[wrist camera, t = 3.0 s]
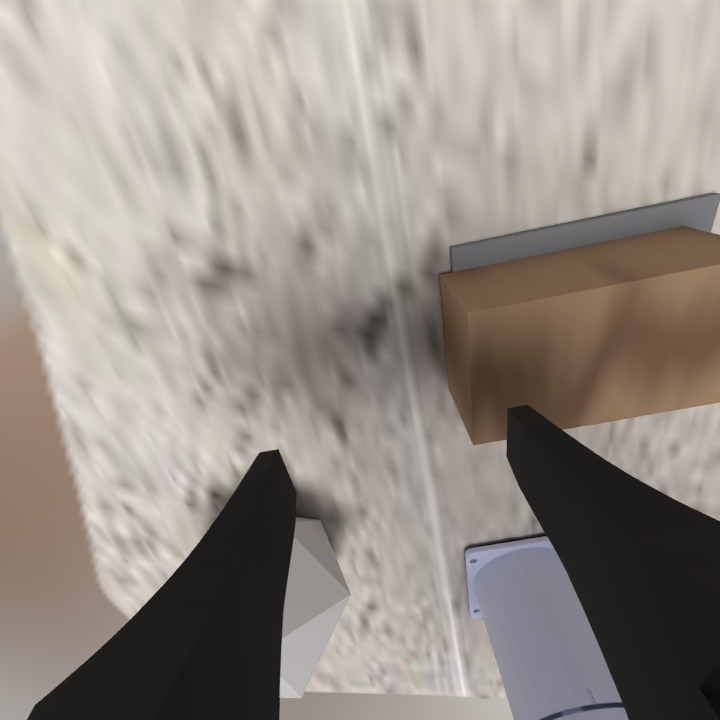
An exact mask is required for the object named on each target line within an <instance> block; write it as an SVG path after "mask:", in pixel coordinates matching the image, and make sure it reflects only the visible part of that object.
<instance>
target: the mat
mask: <svg viewBox="0 0 720 720" xmlns="http://www.w3.org/2000/svg"><path fill="white" fill-rule="evenodd" d="M719 201H720V194H719V193H712V194H707V195H702V196H697V197H692V198H687V199H683V200H678V201H673V202H668V203H663V204H658V205H653V206H648V207H643V208H638V209H633V210H628V211H623V212H618V213H614V214H609V215H604V216H599V217H594V218H589V219H584V220H579V221H574V222H569V223H564V224H559V225H554V226H550V227H545V228H540V229H535V230H530V231H525V232H520V233H515V234H510V235H505V236H500V237H495V238H490V239H485V240H481V241H476V242H471V243H466V244H461V245H456V246H451V247H450V256H451V271H452V272H456V271H461V270H466V269H471V268H476V267H481V266H486V265H491V264H496V263H501V262H506V261H511V260H516V259H521V258H526V257H531V256H536V255H541V254H546V253H551V252H556V251H561V250H566V249H571V248H576V247H581V246H586V245H591V244H596V243H601V242H606V241H611V240H616V239H621V238H626V237H631V236H636V235H641V234H646V233H651V232H656V231H661V230H666V229H671V228H676V227H681V226H686V227H690V228H694V229H698V230H702V231H706V232H709V233H711V229H712V226H713V222H714V219H715V215H716V212H717V208H718V205H719Z"/></svg>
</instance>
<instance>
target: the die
mask: <svg viewBox="0 0 720 720" xmlns="http://www.w3.org/2000/svg"><path fill="white" fill-rule="evenodd" d="M350 595H351V594H350V591H349V589H348V586H347V584H346V582H345V579H344V577H343V574H342V572H341V569H340V567H339V564H338V562H337V559H336V557H335V555H334V552H333V550H332V547H331V545H330V542H329V540H328V537H327V535H326V532H325V530H324V527H323V525H322V523H321V520H318V519H309V518H301V517H296V525H295V533H294V540H293V547H292V554H291V561H290V568H289V575H288V581H287V588H286V595H285V603H284V613H283V628H282V647H281V672H280V697H285V698H302V696H303V694H304V692H305V690H306V688H307V686H308V683H309V681H310V679H311V677H312V675H313V673H314V671H315V669H316V667H317V665H318V662H319V660H320V658H321V656H322V654H323V652H324V650H325V648H326V646H327V643H328V641H329V639H330V637H331V635H332V633H333V631H334V629H335V627H336V625H337V622H338V620H339V618H340V616H341V614H342V612H343V610H344V608H345V606H346V603H347V601H348V599H349V597H350Z"/></svg>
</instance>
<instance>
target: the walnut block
mask: <svg viewBox="0 0 720 720" xmlns="http://www.w3.org/2000/svg"><path fill="white" fill-rule="evenodd" d="M439 277H440V289H441V301H442V313H443V325H444V337H445V349H446V361H447V373H448V385H449V391H450V393H451V395H452V397H453V400H454V402H455V404H456V407H457V409H458V411H459V413H460V416H461V418H462V420H463V423H464V425H465V427H466V429H467V432H468V434H469V436H470V439H471V441H472V443H473V445H477V444H483V443H489V442H494V441H500V440H506V439H507V408H511V407H517V406H523V405H529V406H530V407H532V408H533V409H534V410H536V411H537V412H538V413H540V414H541V415H542V416H544V417H545V418H546V419H548V420H549V421H551V422H552V423H553V424H555V425H556V426H557V427H559V428H560V429H561V430H563V429H569V428H575V427H581V426H586V425H592V424H598V423H604V422H609V421H615V420H621V419H627V418H632V417H638V416H644V415H650V414H655V413H661V412H667V411H673V410H678V409H684V408H690V407H696V406H701V405H707V404H713V403H719V402H720V235H717V234H713V233H709V232H706V231H702V230H698V229H694V228H690V227H686V226H681V227H676V228H671V229H666V230H661V231H656V232H651V233H646V234H641V235H636V236H631V237H626V238H621V239H616V240H611V241H606V242H601V243H596V244H591V245H586V246H581V247H576V248H571V249H566V250H561V251H556V252H551V253H546V254H541V255H536V256H531V257H526V258H521V259H516V260H511V261H506V262H501V263H496V264H491V265H486V266H481V267H476V268H471V269H466V270H461V271H456V272H451V273H446V274H441V275H439Z"/></svg>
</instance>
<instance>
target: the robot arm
mask: <svg viewBox="0 0 720 720" xmlns="http://www.w3.org/2000/svg"><path fill="white" fill-rule="evenodd" d="M507 458H508V461H509V463H510V466H511V468H512V471H513V473H514V475H515V478H516V480H517V482H518V485H519V487H520V489H521V491H522V492H523V494H524V496H525V498H526V500H527V501H528V503H529V505H530V507H531V509H532V510H533V512H534V514H535V516H536V517H537V519H538V521H539V523H540V525H541V526H542V528H543V530H544V532H545V533H546V535H547V536H544V537H538V538H531V539H525V540H519V541H512V542H506V543H500V544H494V545H487V546H481V547H475V548H470V549H468V550H466V552H465V562H466V576H467V589H468V602H469V614H470V617H471V619H473V620H480V619H484V622H485V625H486V628H487V632H488V635H489V638H490V641H491V645H492V648H493V651H494V655H495V658H496V661H497V665H498V668H499V671H500V675H501V678H502V681H503V685H504V688H505V691H506V695H507V698H508V701H509V704H510V708H511V711H512V715H513V718H514V720H720V521H718V520H716V519H714V518H712V517H710V516H707V515H705V514H703V513H701V512H699V511H697V510H695V509H693V508H690V507H688V506H686V505H684V504H682V503H680V502H678V501H676V500H674V499H673V498H671V497H669V496H667V495H665V494H663V493H661V492H659V491H658V490H656V489H654V488H652V487H650V486H648V485H647V484H645V483H643V482H641V481H639V480H638V479H636V478H634V477H632V476H631V475H629V474H627V473H626V472H624V471H622V470H621V469H619V468H618V467H616V466H614V465H613V464H611V463H610V462H608V461H606V460H605V459H603V458H602V457H600V456H599V455H597V454H596V453H594V452H593V451H591V450H590V449H588V448H587V447H585V446H584V445H583V444H581V443H580V442H578V441H577V440H575V439H574V438H572V437H571V436H570V435H568V434H567V433H565V432H564V431H563V430H561V429H560V428H559V427H557V426H556V425H555V424H553V423H552V422H551V421H549V420H548V419H546V418H545V417H544V416H542V415H541V414H540V413H538V412H537V411H536V410H534V409H533V408H532V407H530V406H529V405H523V406H517V407H511V408H507ZM295 525H296V490H295V488H294V486H293V483H292V481H291V478H290V476H289V474H288V471H287V469H286V466H285V464H284V462H283V459H282V457H281V454H280V452H279V450H278V449H277V450H272V451H266V452H261V453H259V454H258V456H257V457H256V459H255V460H254V462H253V464H252V465H251V467H250V468H249V470H248V472H247V473H246V475H245V476H244V478H243V479H242V481H241V483H240V484H239V486H238V487H237V489H236V490H235V492H234V493H233V495H232V496H231V498H230V499H229V501H228V502H227V504H226V505H225V507H224V508H223V510H222V511H221V513H220V514H219V516H218V517H217V519H216V520H215V521H214V523H213V524H212V525H211V527H210V528H209V530H208V531H207V532H206V534H205V535H204V536H203V538H202V539H201V541H200V542H199V543H198V544H197V546H196V547H195V548H194V550H193V551H192V552H191V553H190V555H189V556H188V557H187V558H186V560H185V561H184V562H183V563H182V564H181V565H180V567H179V568H178V569H177V570H176V571H175V573H174V574H173V575H172V576H171V577H170V578H169V579H168V581H167V582H166V583H165V584H164V585H163V586H162V587H161V588H160V589H159V590H158V591H157V592H156V593H155V594H154V596H153V597H152V598H151V599H150V600H149V601H148V602H147V603H146V604H145V605H144V606H143V607H142V608H141V609H140V610H139V611H138V613H137V614H136V615H135V616H134V617H133V618H132V619H131V620H129V621H128V623H126V624H125V626H123V627H122V628H121V629H120V630H119V631H118V632H117V633H116V634H115V635H114V636H113V637H112V638H111V639H110V640H109V641H108V642H107V643H106V644H104V645H103V646H102V647H101V649H99V650H98V651H97V652H96V653H95V654H94V655H93V656H91V657H90V658H89V659H88V660H87V661H86V662H85V663H84V664H83V665H81V666H80V667H79V668H78V669H77V670H76V671H74V672H73V673H72V674H71V675H70V676H69V677H67V678H66V679H65V680H64V681H63V682H62V683H61V684H59V685H58V686H57V687H56V688H55V689H54V690H52V691H51V692H50V693H49V694H48V695H47V696H45V697H44V698H43V699H42V700H41V701H39V702H38V703H37V704H36V705H35V706H34V708H33V710H32V712H31V713H30V715H29V717H28V719H27V720H279V707H280V703H279V702H280V672H281V647H282V628H283V613H284V603H285V595H286V588H287V581H288V575H289V568H290V561H291V554H292V547H293V540H294V533H295Z"/></svg>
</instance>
